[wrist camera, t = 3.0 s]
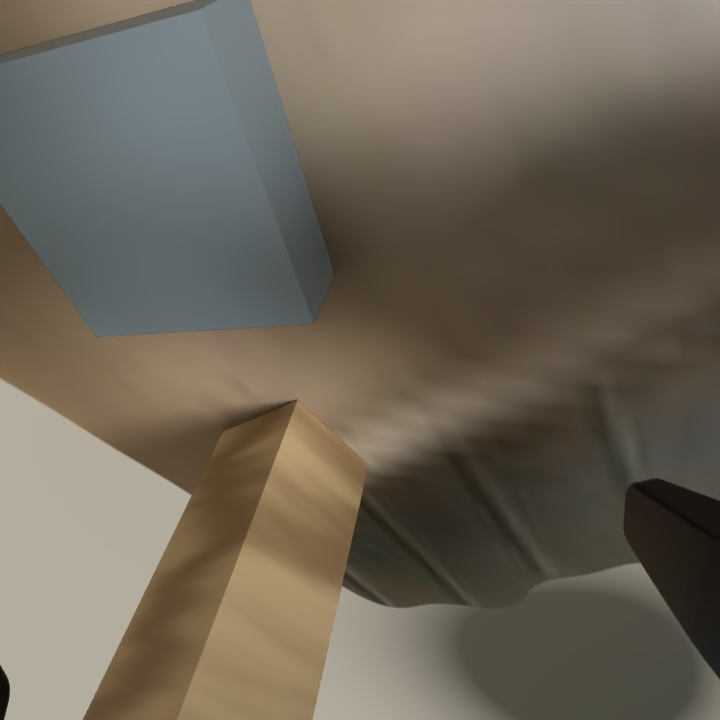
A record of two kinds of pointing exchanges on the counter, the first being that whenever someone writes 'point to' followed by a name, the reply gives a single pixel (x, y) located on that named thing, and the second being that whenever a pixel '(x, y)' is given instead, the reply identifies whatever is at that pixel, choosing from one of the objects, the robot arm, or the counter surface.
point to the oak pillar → (244, 582)
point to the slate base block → (162, 174)
